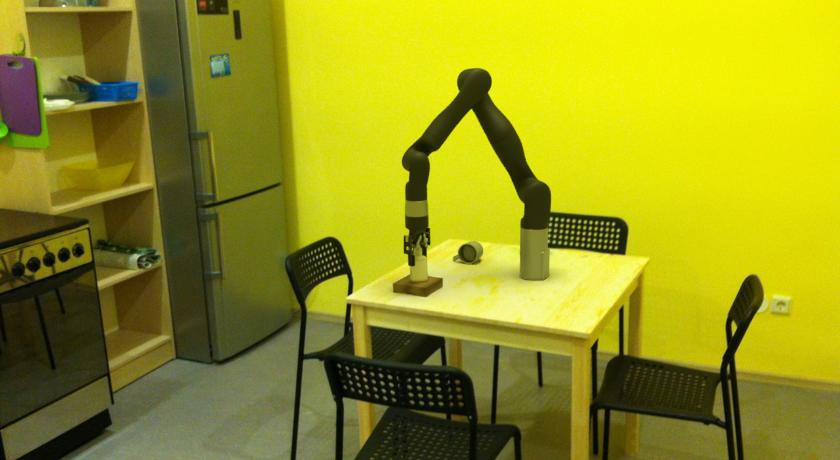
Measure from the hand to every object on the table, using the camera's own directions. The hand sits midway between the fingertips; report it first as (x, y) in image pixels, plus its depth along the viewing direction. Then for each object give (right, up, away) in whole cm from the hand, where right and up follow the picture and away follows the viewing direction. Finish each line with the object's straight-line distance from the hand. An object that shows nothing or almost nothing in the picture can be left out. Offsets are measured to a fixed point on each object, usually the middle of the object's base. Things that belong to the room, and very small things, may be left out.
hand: (417, 262), depth 261 cm
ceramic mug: (+18, -1, +35) cm, 39 cm away
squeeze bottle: (0, -6, +2) cm, 6 cm away
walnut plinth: (0, -9, +2) cm, 9 cm away
